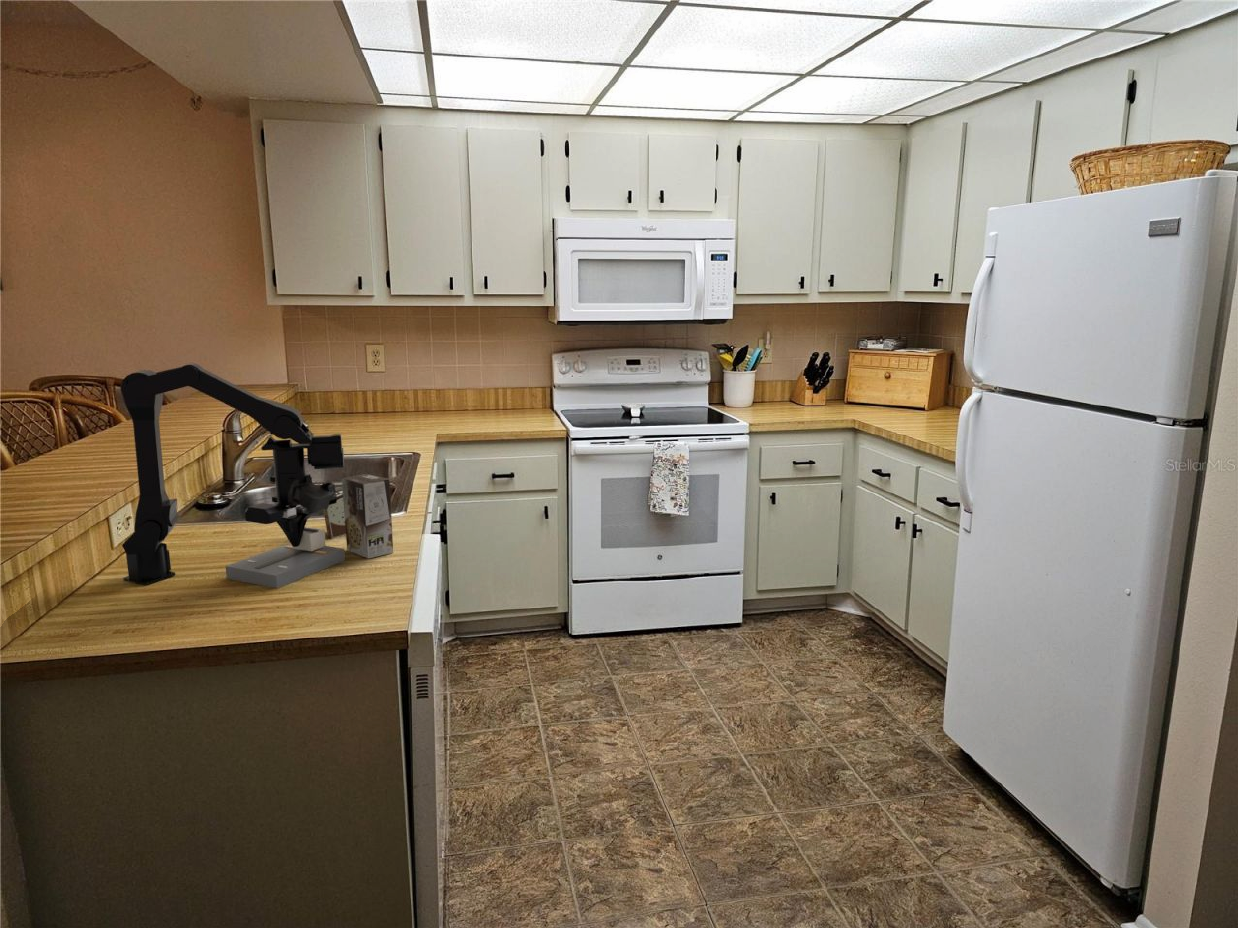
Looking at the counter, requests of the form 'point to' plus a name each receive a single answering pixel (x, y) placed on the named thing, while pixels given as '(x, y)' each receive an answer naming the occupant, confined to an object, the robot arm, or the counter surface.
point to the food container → (335, 516)
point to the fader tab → (312, 539)
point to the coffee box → (367, 515)
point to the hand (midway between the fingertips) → (295, 546)
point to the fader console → (283, 565)
